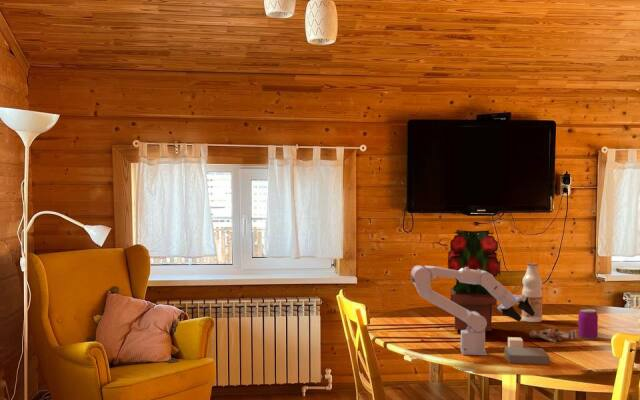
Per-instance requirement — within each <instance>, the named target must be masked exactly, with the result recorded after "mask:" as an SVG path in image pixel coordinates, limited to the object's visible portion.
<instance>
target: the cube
mask: <svg viewBox="0 0 640 400" xmlns="http://www.w3.org/2000/svg"><path fill="white" fill-rule="evenodd" d="M507 347H522V348H524V340H523V338H522V337H516V336H515V337H514V336H513V337H512V336H511V337H510V336H507Z"/></svg>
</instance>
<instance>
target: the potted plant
mask: <svg viewBox="0 0 640 400" xmlns="http://www.w3.org/2000/svg"><path fill="white" fill-rule="evenodd" d="M454 234H456V235H454V236H453V239H451V240H450V246H449V247H450V251H448V252H447V255H448V256H447V269H452V270H457V271H458V270H460V269H461V268H465V267H468V268H469V269H473V270H478V269H480V270H483V271H486V272H488V273H490V274H492V275H493V276H494V278H495V277H498V274H499V276H501V259H499V261H498V255H497V254H498V253H497V251H498V250H499V243H498V241H497V240H496V239H495V237H494V236H493V234H494V232H490V230H489V229H488V230H475V231H474V230H463V229H456V231H455V232H454ZM453 279H454V280H456V282H455V285H453V287H450V300H451V301H453V302H454V303H456V304H458V305H460V306H461V307H463V308H465V309H467V310H469V311H476V312H478V313H479V314H480V315H481V316H483V317H484V318H485V319H486V321H487V326H486V328H485V335H487V332H492V318H493V312H492V309H493V308H492V306H497V303H498V300H497V299H495V298H494V297H493V296H492V295H491V294H490V293H489V292H488V291H487V290H486V289H485V288H484V287H483V286H481V285H479V284H477V285H474V284H468V283H461V282H459V280H458V279H457V278H453ZM467 326H468V325H467V323H465V322H464V321H462V320H461V319H459V318H457V317H456V316H454V330H458V332H459V334H461V330H466V328H467Z"/></svg>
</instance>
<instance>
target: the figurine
mask: <svg viewBox="0 0 640 400" xmlns="http://www.w3.org/2000/svg"><path fill="white" fill-rule="evenodd" d="M577 332H578V330H577V329H572V330H569V331H568V333H565V332H564V331H560V330H559V329H558V328H549V329H545V328H544V329H542V330H540V331H538V330H535V329H531V330H530V331H529V332H528V334H529V335H528V336H529V338H532V339H543V340H547V341H548V342H551V343H553V344H557V343H558V341H559V342H563V341H564V339H568V340H574V339H576V338H577V335H578V333H577Z"/></svg>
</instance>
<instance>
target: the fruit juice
mask: <svg viewBox="0 0 640 400" xmlns="http://www.w3.org/2000/svg"><path fill="white" fill-rule="evenodd" d="M526 266H527V268H526V272H525V274H524V276H523V277H522V281H521V283H522V285H523V286H522V289H521V295H524V296H525V297H527V298H528V301H529V304H530V306H531V307H532V309H533V310H534V312H535V313H534V316H530V315H529V314H528V313H526V312H525V311H523V310H522V309H521V317H522V318H521V320H522V321H523V322H527V323H540V322H542V320H543V290H542V285H543V279H542V278H541V276H540V273H539V270H538V263H537V262H527V263H526Z"/></svg>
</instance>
